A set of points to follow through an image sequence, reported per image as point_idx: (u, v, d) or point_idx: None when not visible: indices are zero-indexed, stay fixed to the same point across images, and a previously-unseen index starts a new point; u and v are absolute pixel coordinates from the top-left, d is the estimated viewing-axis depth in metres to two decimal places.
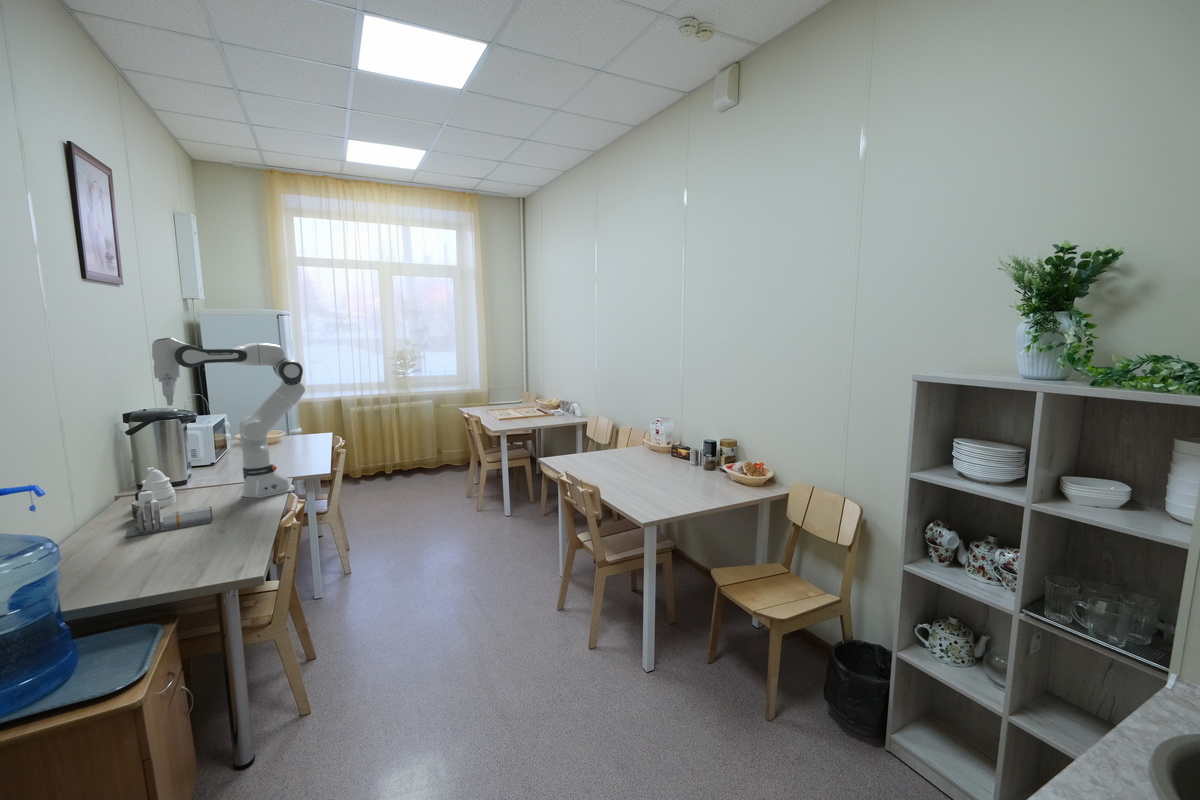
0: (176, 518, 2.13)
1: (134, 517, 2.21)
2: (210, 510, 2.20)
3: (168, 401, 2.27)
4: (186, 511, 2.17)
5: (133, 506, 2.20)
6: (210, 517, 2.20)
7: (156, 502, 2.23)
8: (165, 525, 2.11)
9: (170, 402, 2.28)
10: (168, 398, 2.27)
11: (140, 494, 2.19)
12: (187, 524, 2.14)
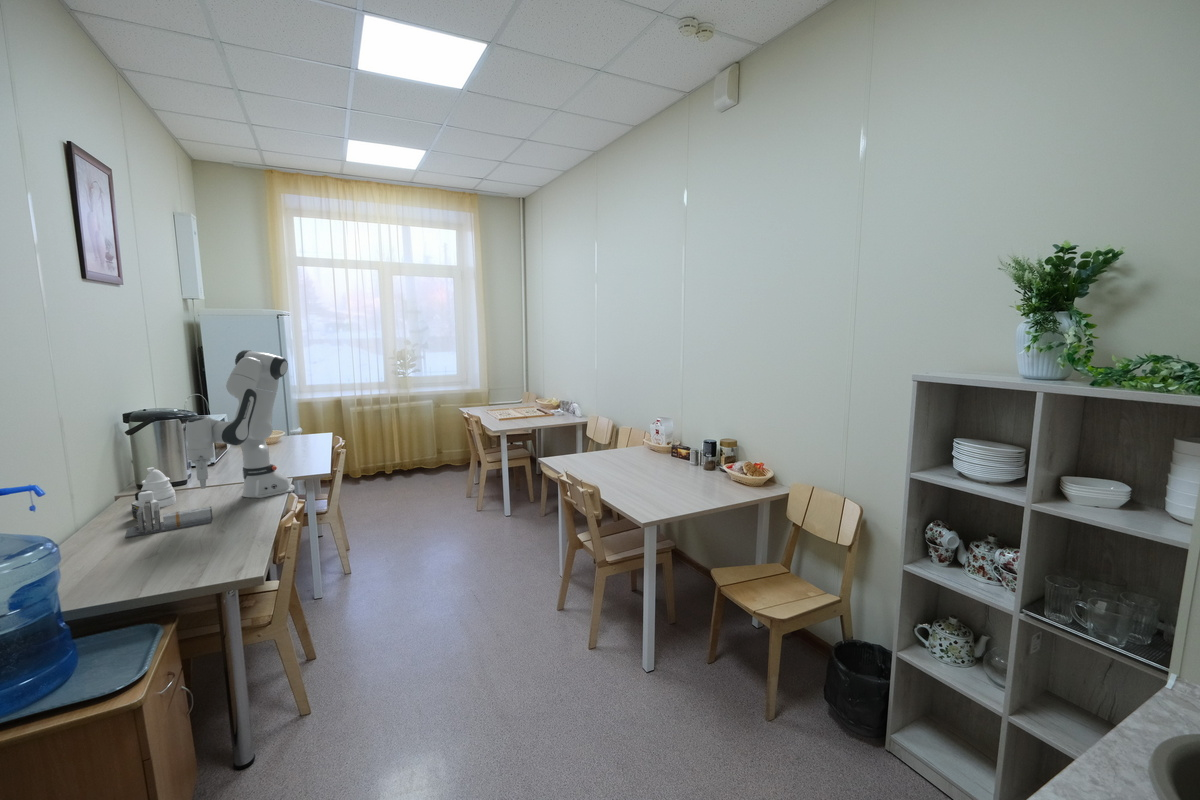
0: (176, 518, 2.13)
1: (134, 517, 2.21)
2: (210, 510, 2.20)
3: (202, 484, 2.14)
4: (186, 511, 2.17)
5: (133, 506, 2.20)
6: (210, 517, 2.20)
7: (156, 502, 2.23)
8: (165, 525, 2.11)
9: (204, 485, 2.15)
10: (202, 481, 2.14)
11: (140, 494, 2.19)
12: (187, 524, 2.14)
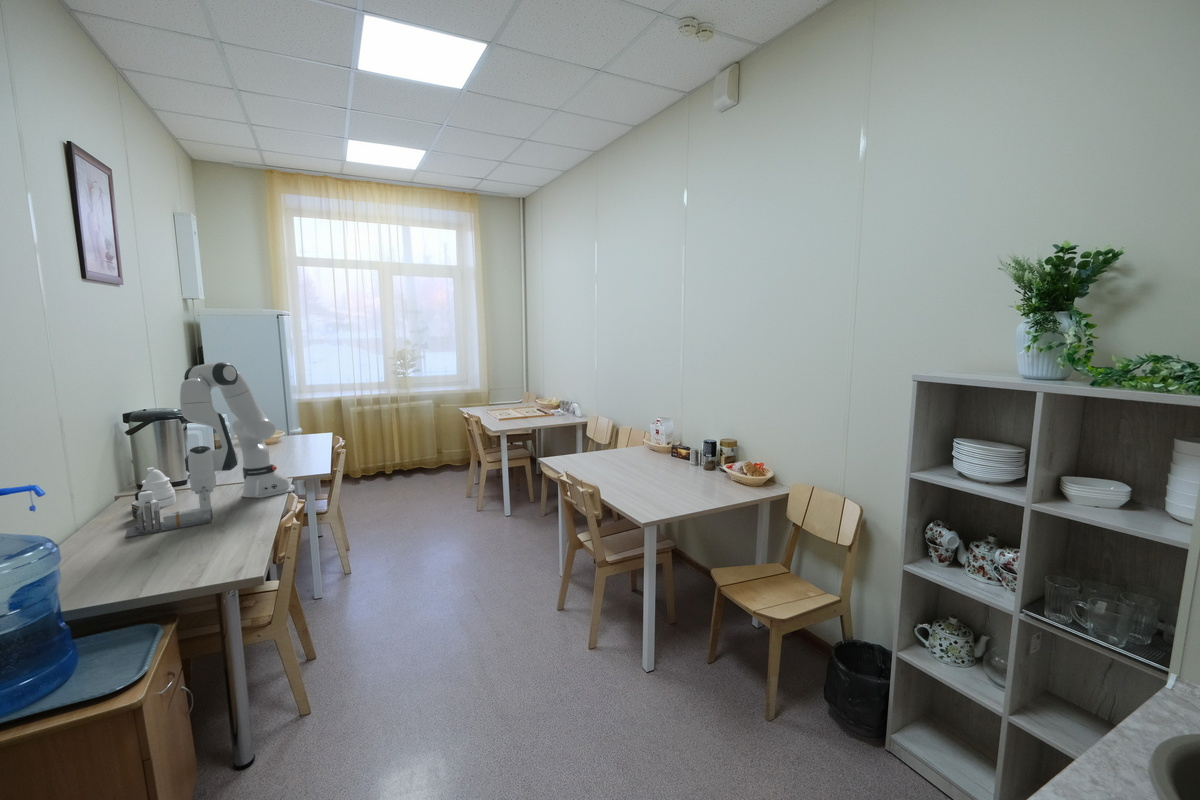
0: (176, 518, 2.13)
1: (134, 517, 2.21)
2: (210, 510, 2.20)
3: (205, 513, 2.18)
4: (186, 511, 2.17)
5: (133, 506, 2.20)
6: (210, 517, 2.20)
7: (156, 502, 2.23)
8: (165, 525, 2.11)
9: (207, 514, 2.18)
10: (205, 511, 2.17)
11: (140, 494, 2.19)
12: (187, 524, 2.14)
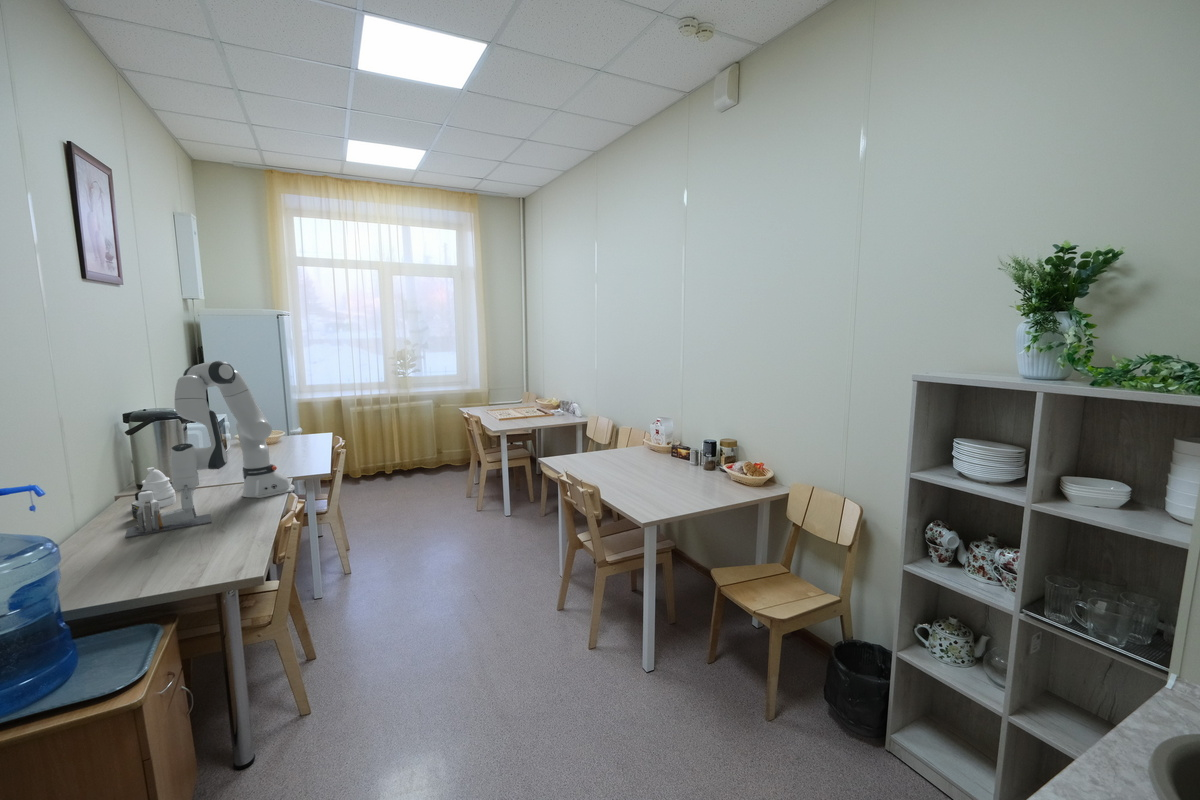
0: None
1: (134, 517, 2.21)
2: (192, 509, 2.16)
3: (187, 512, 2.14)
4: (168, 512, 2.13)
5: (133, 506, 2.20)
6: (193, 516, 2.17)
7: (156, 502, 2.23)
8: None
9: (189, 513, 2.14)
10: (187, 509, 2.13)
11: (140, 494, 2.19)
12: (187, 524, 2.14)
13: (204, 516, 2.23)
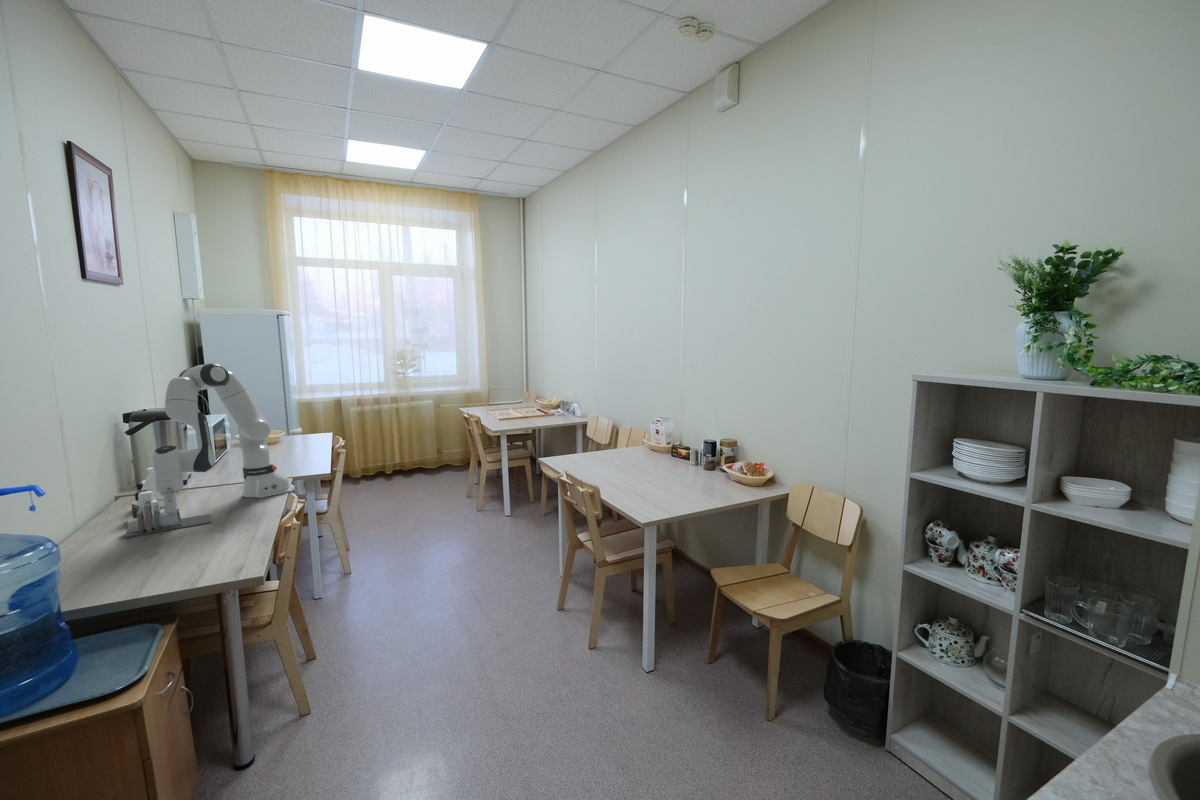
0: None
1: (134, 517, 2.21)
2: (177, 513, 2.13)
3: (171, 515, 2.11)
4: (152, 515, 2.10)
5: (133, 506, 2.20)
6: (178, 520, 2.14)
7: (156, 502, 2.23)
8: (130, 531, 2.05)
9: (173, 516, 2.11)
10: (171, 512, 2.10)
11: (140, 494, 2.19)
12: (187, 524, 2.14)
13: (204, 516, 2.23)
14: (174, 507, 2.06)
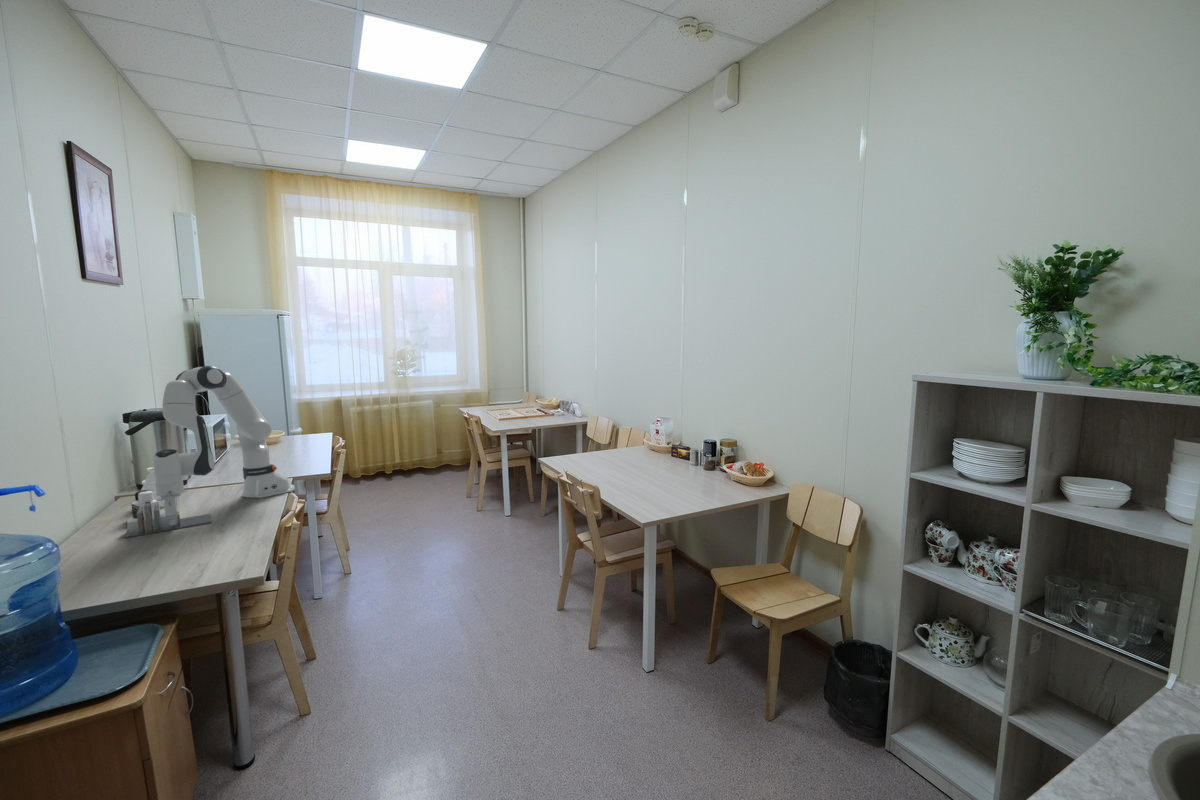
0: None
1: (134, 517, 2.21)
2: (177, 515, 2.13)
3: (171, 520, 2.09)
4: (152, 517, 2.10)
5: (133, 506, 2.20)
6: (177, 523, 2.14)
7: (156, 502, 2.23)
8: (129, 531, 2.04)
9: (173, 521, 2.10)
10: (171, 517, 2.09)
11: (140, 494, 2.19)
12: (187, 524, 2.14)
13: (204, 516, 2.23)
14: (175, 511, 2.06)
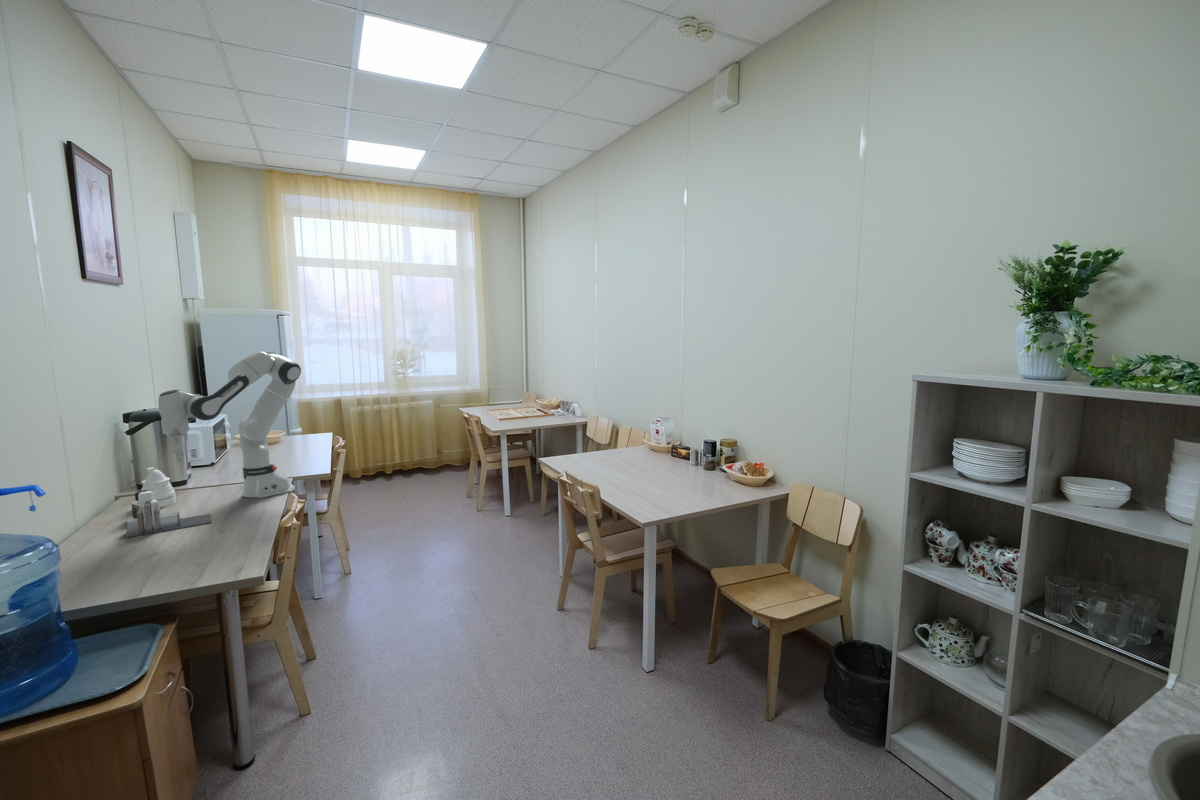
0: None
1: (134, 517, 2.21)
2: (177, 515, 2.13)
3: (178, 458, 2.15)
4: (152, 517, 2.10)
5: (133, 506, 2.20)
6: (177, 523, 2.14)
7: (156, 502, 2.23)
8: (129, 531, 2.04)
9: (180, 458, 2.16)
10: (178, 455, 2.15)
11: (140, 494, 2.19)
12: (187, 524, 2.14)
13: (204, 516, 2.23)
14: (181, 448, 2.12)
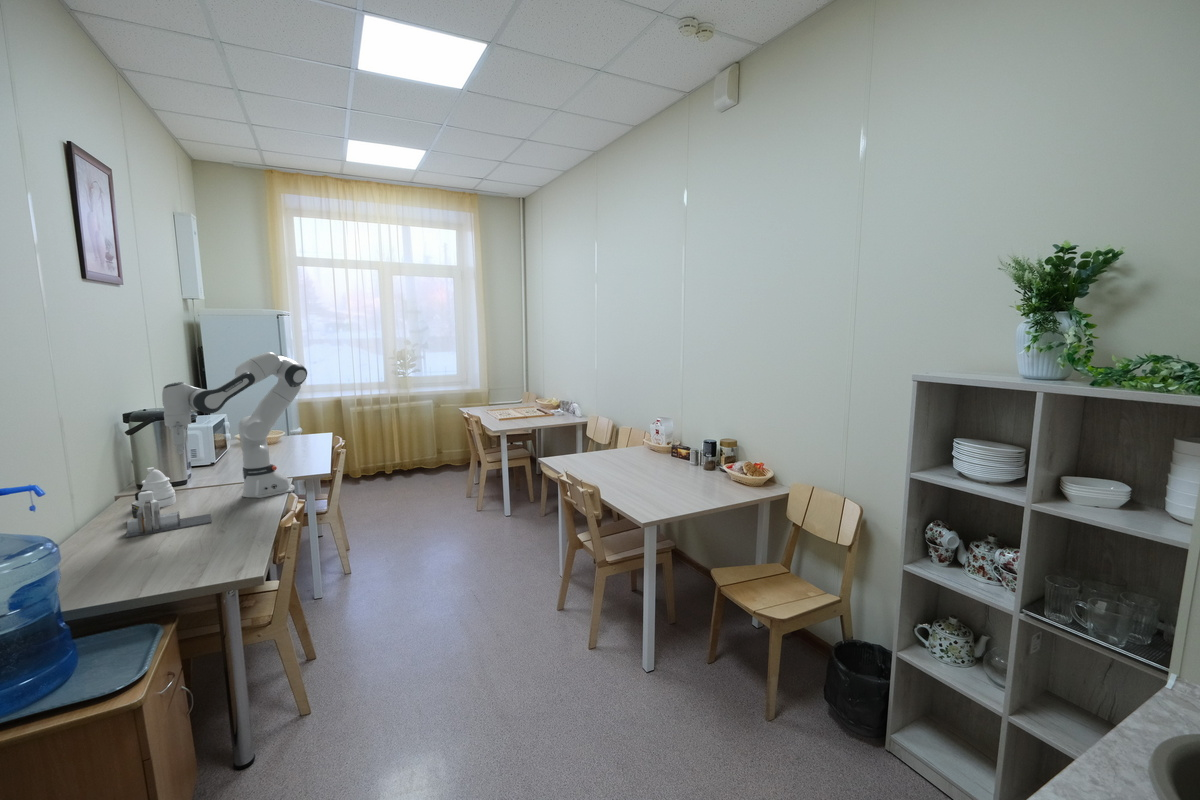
0: None
1: (134, 517, 2.21)
2: (177, 515, 2.13)
3: (179, 450, 2.16)
4: (152, 517, 2.10)
5: (133, 506, 2.20)
6: (177, 523, 2.14)
7: (156, 502, 2.23)
8: (129, 531, 2.04)
9: (181, 451, 2.17)
10: (179, 447, 2.15)
11: (140, 494, 2.19)
12: (187, 524, 2.14)
13: (204, 516, 2.23)
14: (183, 440, 2.13)
